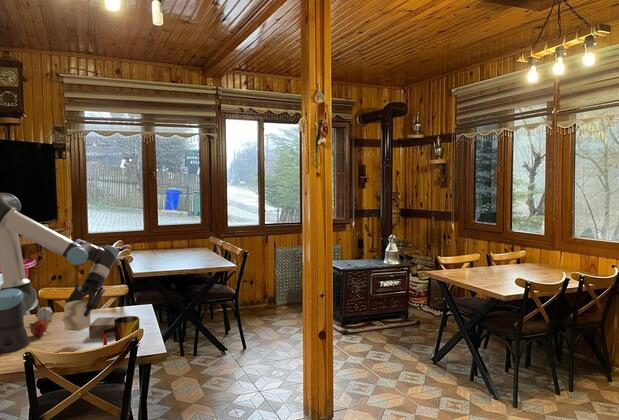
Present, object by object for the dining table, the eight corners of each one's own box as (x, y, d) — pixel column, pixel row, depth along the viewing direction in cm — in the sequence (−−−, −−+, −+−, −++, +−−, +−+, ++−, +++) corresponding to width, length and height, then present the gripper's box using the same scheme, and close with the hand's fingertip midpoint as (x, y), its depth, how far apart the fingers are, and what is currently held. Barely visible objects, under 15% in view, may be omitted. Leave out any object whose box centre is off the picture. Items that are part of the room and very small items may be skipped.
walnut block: (89, 338, 205) (88, 325, 205) (98, 330, 217) (98, 317, 216) (117, 337, 206) (117, 324, 206) (125, 329, 218) (124, 316, 218)
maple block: (64, 329, 195) (64, 304, 194) (76, 324, 202) (76, 299, 201) (79, 331, 193) (78, 305, 193) (90, 326, 200) (90, 301, 200)
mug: (102, 354, 186) (101, 324, 185) (125, 342, 199) (124, 315, 199) (123, 356, 183) (122, 326, 183) (144, 344, 197) (143, 316, 196)
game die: (47, 330, 227) (46, 317, 222) (31, 324, 227) (29, 311, 222) (59, 317, 235) (58, 304, 229) (43, 311, 235) (42, 298, 229)
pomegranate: (45, 336, 214) (24, 327, 209) (55, 323, 215) (35, 313, 210) (45, 343, 207) (23, 333, 203) (56, 329, 209) (35, 319, 204)
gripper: (120, 282, 209) (96, 328, 194) (82, 279, 214) (56, 324, 199) (112, 272, 204) (87, 319, 189) (73, 270, 208) (46, 315, 193)
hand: (71, 322), depth 194 cm, fingers closed on maple block, 7 cm apart
